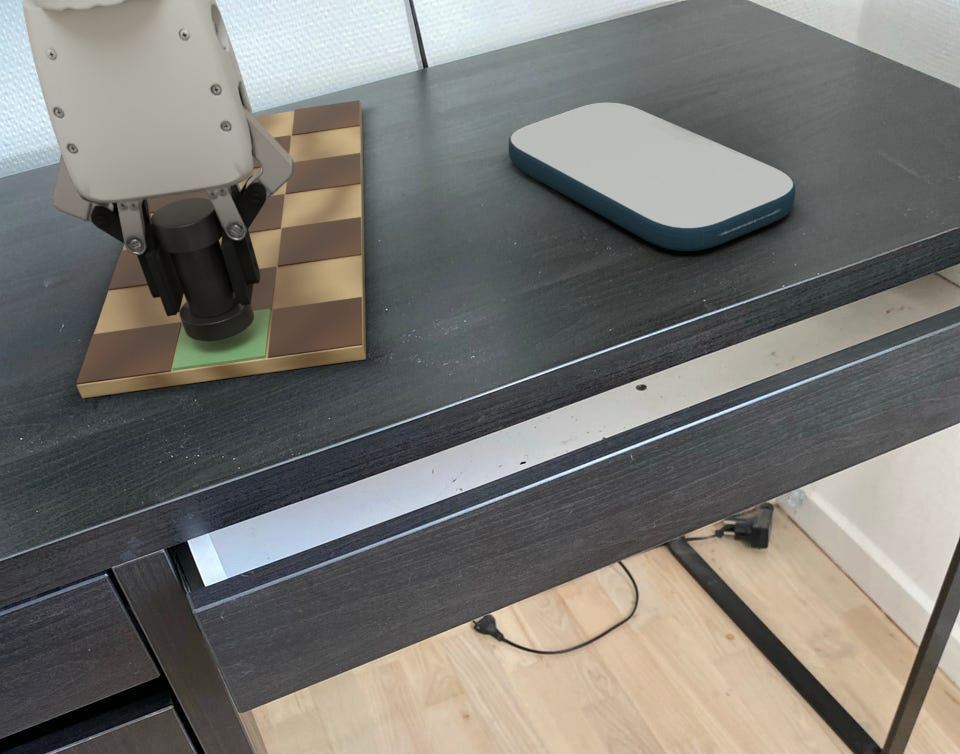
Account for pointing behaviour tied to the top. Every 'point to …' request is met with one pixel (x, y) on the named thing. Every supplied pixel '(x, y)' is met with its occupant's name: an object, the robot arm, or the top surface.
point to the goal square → (225, 346)
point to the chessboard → (261, 270)
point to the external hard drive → (652, 175)
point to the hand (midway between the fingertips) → (210, 296)
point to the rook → (201, 269)
